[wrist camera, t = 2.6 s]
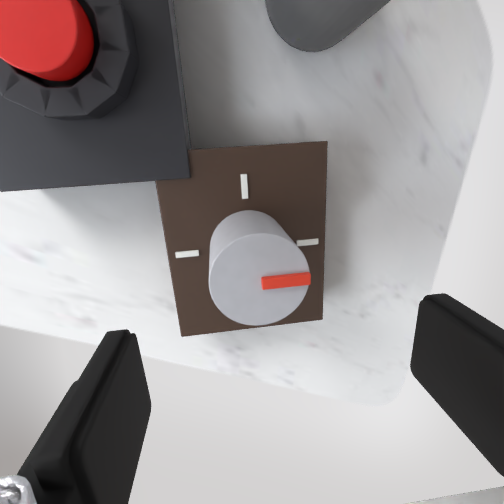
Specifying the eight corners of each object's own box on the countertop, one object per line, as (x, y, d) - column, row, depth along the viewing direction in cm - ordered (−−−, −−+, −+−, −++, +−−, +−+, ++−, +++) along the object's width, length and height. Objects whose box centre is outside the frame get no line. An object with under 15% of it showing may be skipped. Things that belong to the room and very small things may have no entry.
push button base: (-52, -92, 14) (-183, -209, 9) (162, -89, 15) (139, -195, 10) (33, 184, 19) (-27, 197, 14) (194, 173, 20) (188, 181, 15)
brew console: (159, 151, 19) (149, 152, 16) (311, 141, 20) (329, 141, 17) (185, 313, 23) (181, 338, 20) (310, 299, 24) (323, 321, 21)
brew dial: (214, 286, 19) (214, 335, 14) (205, 213, 17) (202, 240, 12) (286, 278, 20) (311, 323, 15) (285, 206, 18) (312, 230, 13)
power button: (-12, -20, 12) (-49, -47, 10) (82, -21, 12) (62, -47, 10) (18, 83, 13) (-11, 74, 11) (103, 80, 13) (87, 70, 12)
